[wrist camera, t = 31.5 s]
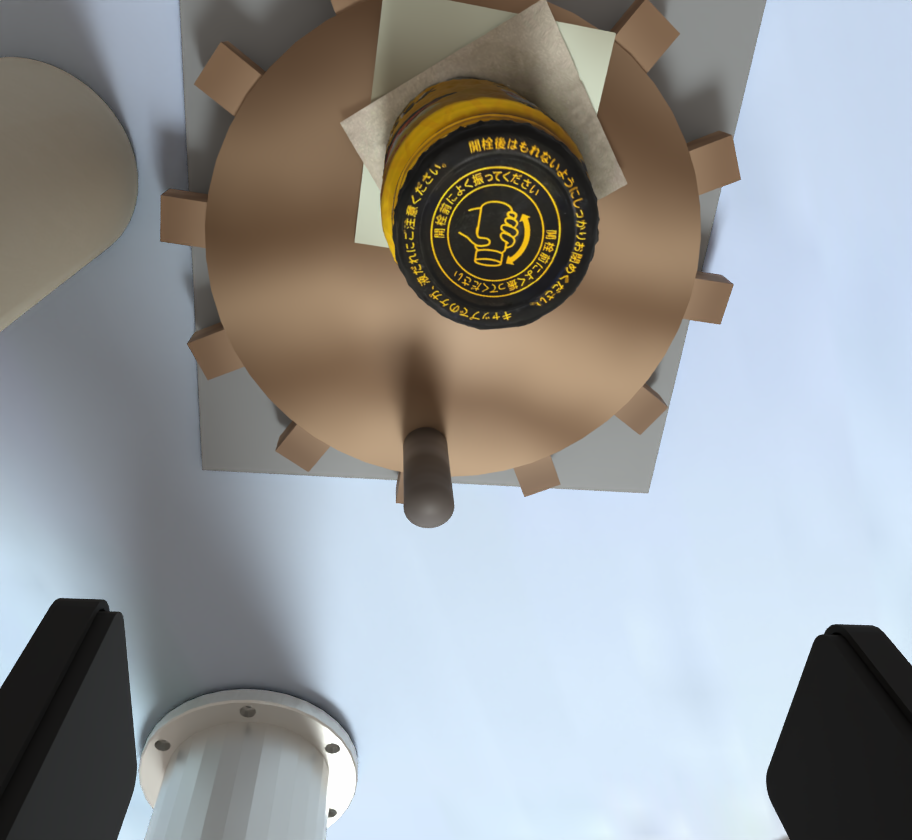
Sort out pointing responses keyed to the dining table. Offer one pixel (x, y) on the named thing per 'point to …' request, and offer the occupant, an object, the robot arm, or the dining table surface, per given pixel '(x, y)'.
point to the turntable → (384, 286)
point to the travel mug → (56, 181)
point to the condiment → (491, 175)
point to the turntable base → (309, 5)
